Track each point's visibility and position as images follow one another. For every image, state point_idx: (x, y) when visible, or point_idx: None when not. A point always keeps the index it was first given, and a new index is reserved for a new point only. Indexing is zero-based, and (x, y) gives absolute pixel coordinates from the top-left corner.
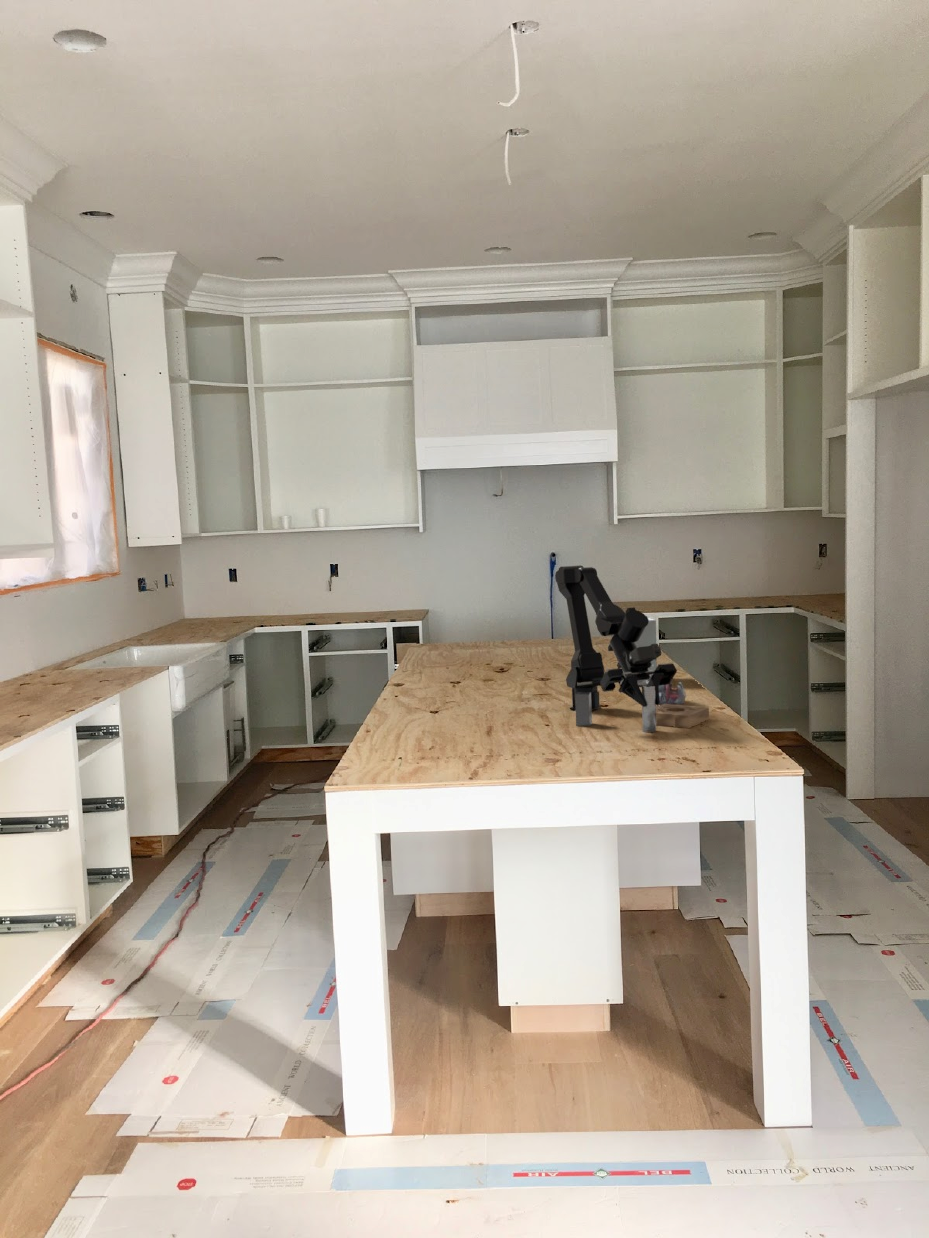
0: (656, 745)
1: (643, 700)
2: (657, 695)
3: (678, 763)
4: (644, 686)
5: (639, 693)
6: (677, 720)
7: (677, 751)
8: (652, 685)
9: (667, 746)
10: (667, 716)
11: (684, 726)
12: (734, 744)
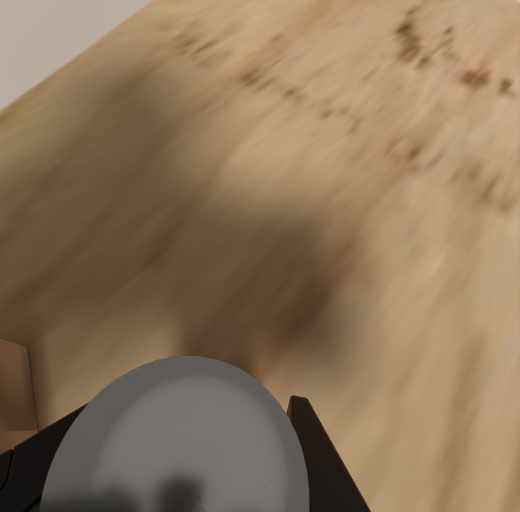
0: (389, 197)
1: (315, 423)
2: None
3: (454, 33)
4: (269, 502)
5: (350, 502)
6: (11, 412)
7: (378, 106)
8: (84, 476)
9: (363, 164)
10: None
11: (25, 371)
12: (170, 68)
